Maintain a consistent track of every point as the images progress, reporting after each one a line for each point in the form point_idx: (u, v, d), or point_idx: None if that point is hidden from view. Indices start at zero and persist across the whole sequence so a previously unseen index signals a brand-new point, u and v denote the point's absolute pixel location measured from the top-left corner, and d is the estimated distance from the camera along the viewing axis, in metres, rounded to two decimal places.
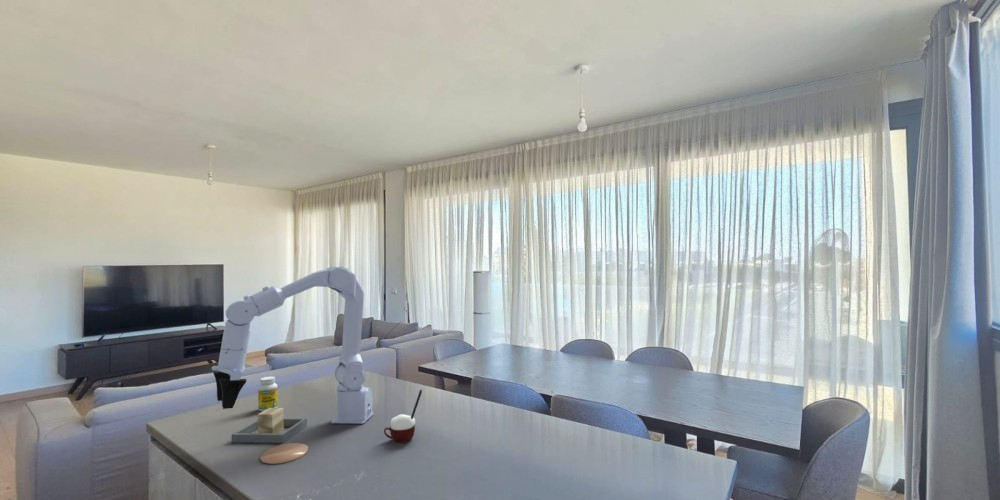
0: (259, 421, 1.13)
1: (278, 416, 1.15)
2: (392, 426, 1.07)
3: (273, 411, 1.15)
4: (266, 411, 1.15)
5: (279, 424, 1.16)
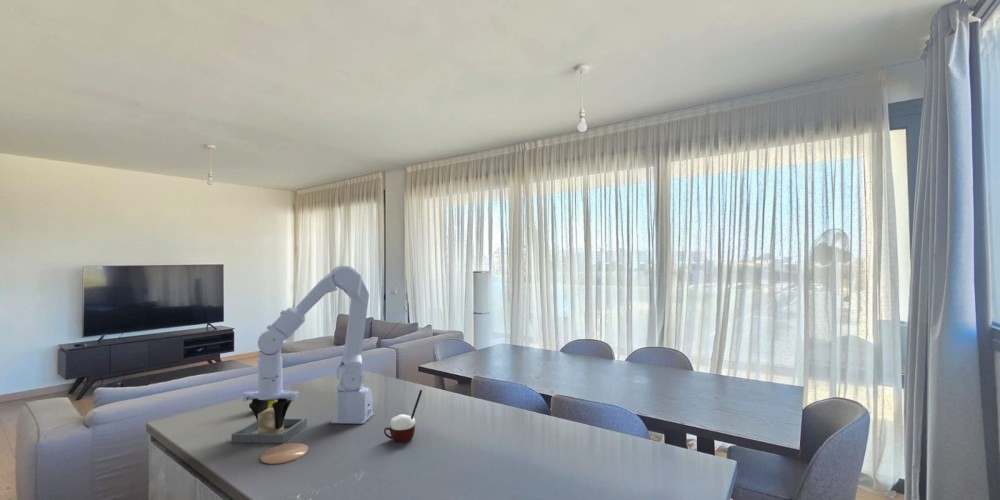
0: (259, 420, 1.13)
1: None
2: (392, 426, 1.07)
3: (273, 411, 1.15)
4: (266, 411, 1.15)
5: None
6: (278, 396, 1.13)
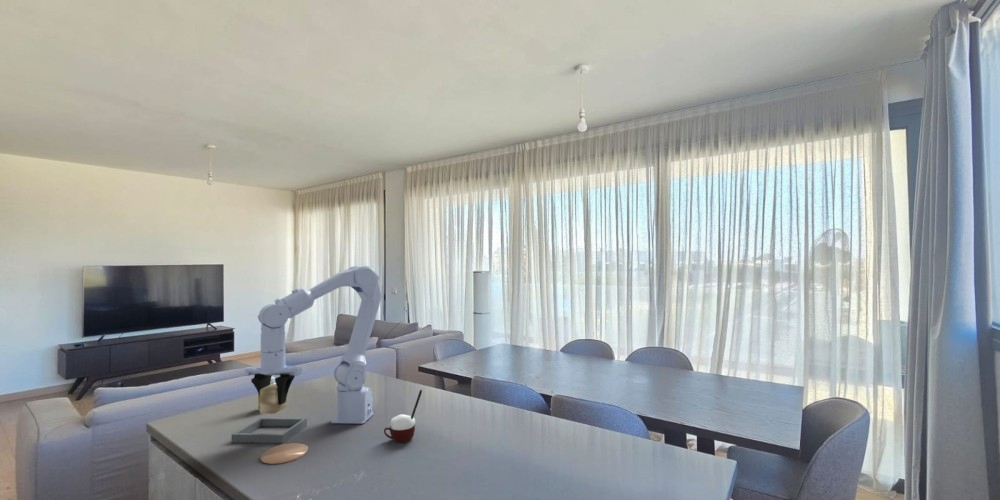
0: (261, 396, 1.10)
1: None
2: (392, 426, 1.07)
3: (275, 386, 1.12)
4: (268, 387, 1.12)
5: None
6: (281, 371, 1.10)
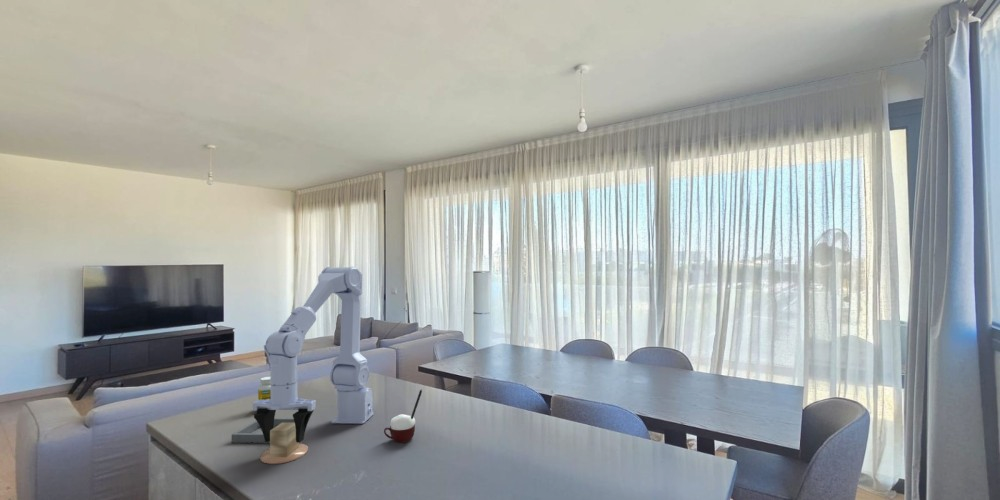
0: (272, 438, 1.00)
1: (292, 432, 1.02)
2: (392, 426, 1.07)
3: (287, 426, 1.02)
4: (279, 427, 1.02)
5: (294, 441, 1.03)
6: (293, 405, 1.00)
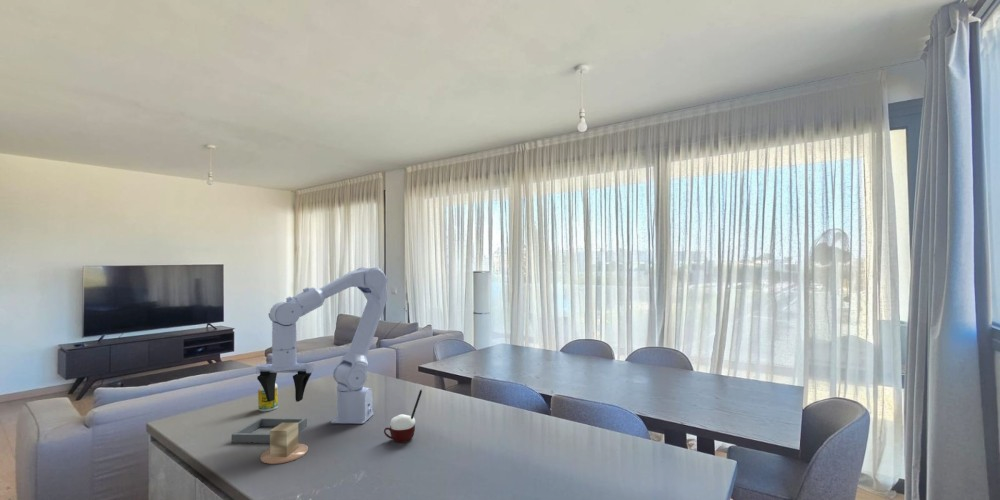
0: (272, 438, 1.00)
1: (292, 432, 1.02)
2: (392, 426, 1.07)
3: (287, 426, 1.02)
4: (279, 427, 1.02)
5: (294, 441, 1.03)
6: (293, 368, 1.11)
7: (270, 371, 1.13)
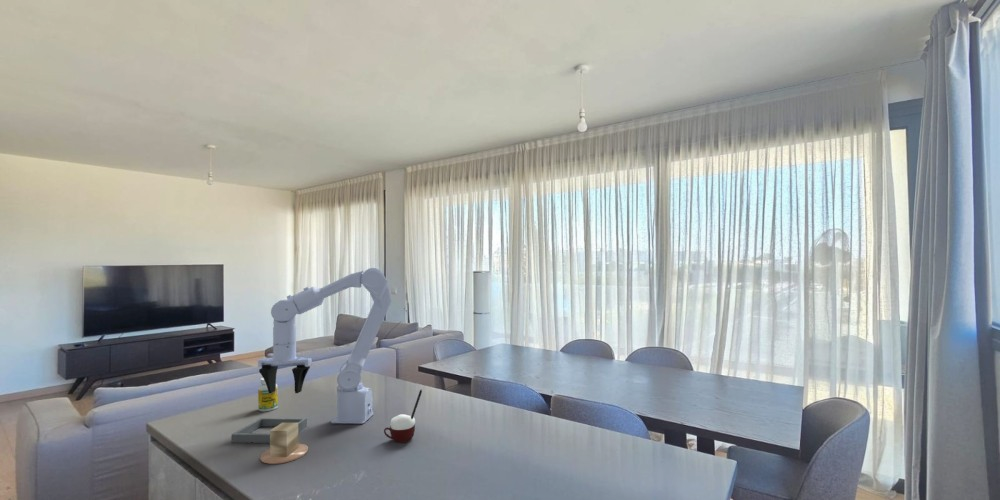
0: (272, 438, 1.00)
1: (292, 432, 1.02)
2: (392, 426, 1.07)
3: (287, 426, 1.02)
4: (279, 427, 1.02)
5: (294, 441, 1.03)
6: (292, 362, 1.18)
7: (271, 364, 1.20)
